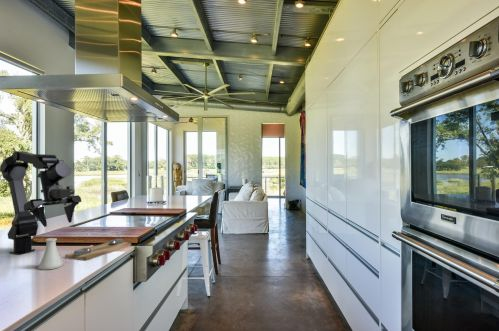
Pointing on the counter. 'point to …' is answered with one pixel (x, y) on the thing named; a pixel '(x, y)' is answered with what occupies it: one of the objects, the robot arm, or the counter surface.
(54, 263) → the flask
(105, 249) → the tan board
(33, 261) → the counter surface
